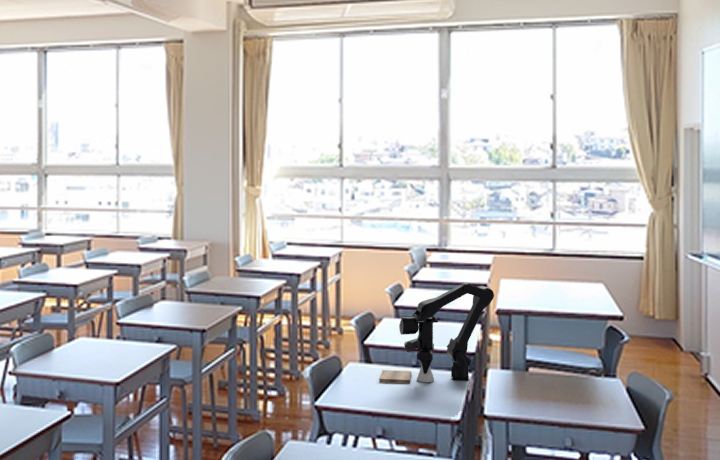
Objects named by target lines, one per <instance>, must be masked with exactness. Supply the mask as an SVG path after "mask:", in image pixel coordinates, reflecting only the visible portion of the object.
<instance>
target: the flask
mask: <svg viewBox="0 0 720 460" xmlns="http://www.w3.org/2000/svg"><path fill="white" fill-rule="evenodd" d="M434 381H435V377H434V373H433V371H432V369H431V365H430V366H429V369H428V371H427V374H424V372H423V367H422V364H421V366H420V370H419V372H418V374H417V378H416V382H420V383H432V382H434Z"/></svg>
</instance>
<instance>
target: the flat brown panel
mask: <svg viewBox="0 0 720 460" xmlns="http://www.w3.org/2000/svg"><path fill="white" fill-rule="evenodd" d="M411 379H412V371H411V370H392V369H391V370H389V369H385V370H384V369H382V371H381V373H380V376H379V381H378V382H379V383H383V384H384V383H385V384H387V383H388V384H391V383H392V384H411Z"/></svg>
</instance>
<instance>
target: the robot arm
mask: <svg viewBox="0 0 720 460" xmlns="http://www.w3.org/2000/svg"><path fill="white" fill-rule="evenodd" d="M494 293H495V292H494V291H493V290H492V288H490V287H486V286H483V285H480V286H477V285H473V284H470V283H468V282H464V281H463V282H461V283H460V284H459V285H457V286H455V287H453V288H451V289H449V290H448V291H446V292H444V293H442V294H440V295H438V296H436V297H434V298H428V299H426V300H422V301H420V302H419V303H418V304H417V308H416V310H415V311H414V313H413V314H412V315H411V316H409V317H407V316H406V317H405V316H402V317H401V318H400V322H399V327H398V328H399V334H400V335H415V334H417V333H418V335H417V338H414V339H410V340H408V341H405V342H404V343H403V346H404V349H405V351H406V353H408V352H410V351H414V350H417V353H416V360H418V361H420V362H421V365H422V367H423V372H424V374H427V371H428V369H429V366H430V367H431V364H432V361H433V359H434V350H435V343H434V323H435V324H436V323H439V320H438V319H437V318H436V317H435V315H436V314H437V313H439V311H440V310H441V309H442V308H443V307H444V306H445V307H446V306H447V305H449V304H450V303H452V302H454V301H456V300H458V299H460V298H461V297H463V296H465V295H467V294H468V295H471V296H473V297H472V305H471V307H470V309H469V311H468V313H467V316H466V318H465V320H464V322H463V324H462V326H461V328H460V330H459V333H458V335H457V336H456V337H455V338H454V339H453V337H452V338H450V340H449V341H448V344H447V346H446V348H447V349H446V353H447V356H448V357H449V358H450V359H451V361H452V365H451V368H450V369H451V371H450V377H451V378H452V380H453V381H469V380H470V379H469V378H470V376H469V366H471V363H472V360H471V358H470V357H468V356H467V352H468V344H469V341H470V338H471V336H472V334H473V332H474V331H475V329H476V326H477V324H478V322H479V319H480V317H481V316H482V313H483V312H484V310H485V309H486V308H487V307H488V306H489V305H490V304H491V302H492V301H493V300H494V297H495V294H494Z"/></svg>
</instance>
